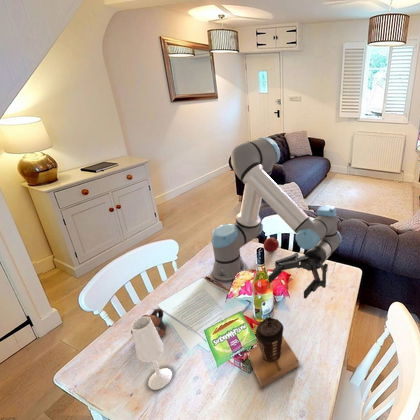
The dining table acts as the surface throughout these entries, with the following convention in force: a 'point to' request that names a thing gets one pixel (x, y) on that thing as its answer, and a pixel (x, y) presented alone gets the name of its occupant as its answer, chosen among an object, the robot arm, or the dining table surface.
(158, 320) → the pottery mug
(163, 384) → the champagne flute
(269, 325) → the coffee cup
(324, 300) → the dining table surface
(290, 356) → the cardboard box
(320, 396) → the dining table surface
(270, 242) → the apple
